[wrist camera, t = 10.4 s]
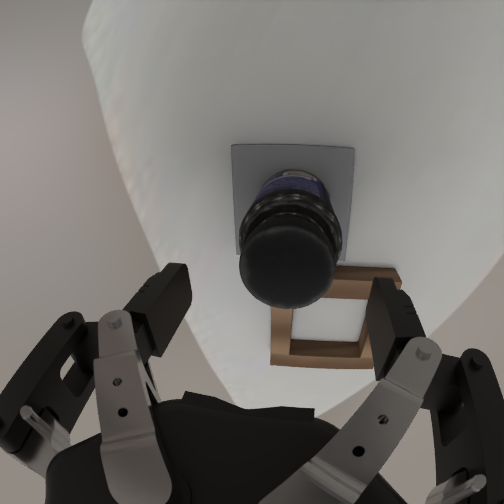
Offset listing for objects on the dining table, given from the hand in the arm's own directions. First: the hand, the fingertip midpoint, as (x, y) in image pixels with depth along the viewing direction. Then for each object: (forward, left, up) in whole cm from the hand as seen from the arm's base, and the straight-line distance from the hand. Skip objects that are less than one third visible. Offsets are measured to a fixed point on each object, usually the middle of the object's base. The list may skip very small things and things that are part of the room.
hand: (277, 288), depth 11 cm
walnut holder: (+12, +4, -14) cm, 19 cm away
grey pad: (0, 0, -14) cm, 14 cm away
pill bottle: (0, 0, -13) cm, 13 cm away
